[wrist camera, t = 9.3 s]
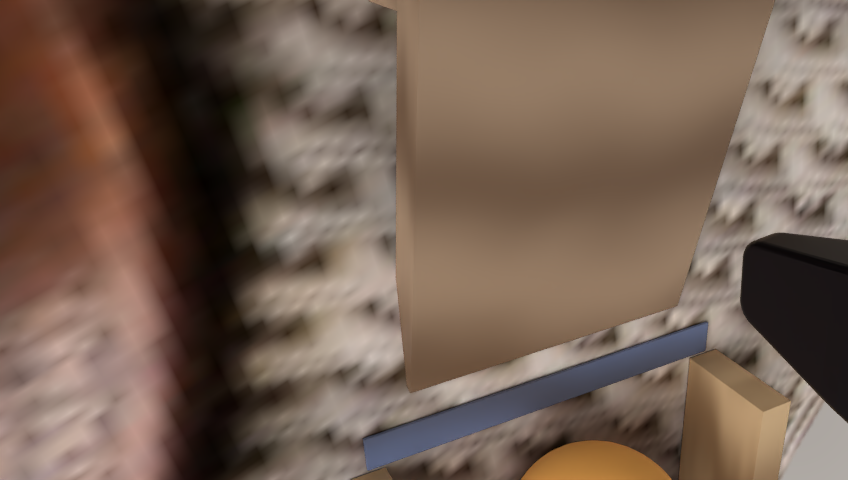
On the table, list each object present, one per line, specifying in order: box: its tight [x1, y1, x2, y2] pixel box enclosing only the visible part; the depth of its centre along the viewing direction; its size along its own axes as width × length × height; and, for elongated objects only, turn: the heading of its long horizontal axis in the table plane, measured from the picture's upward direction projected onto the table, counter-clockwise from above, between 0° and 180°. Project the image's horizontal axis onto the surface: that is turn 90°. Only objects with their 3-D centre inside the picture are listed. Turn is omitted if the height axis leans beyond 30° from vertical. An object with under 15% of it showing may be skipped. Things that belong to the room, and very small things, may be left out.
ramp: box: [369, 0, 775, 393], centre depth 21 cm, size 14×10×4 cm
